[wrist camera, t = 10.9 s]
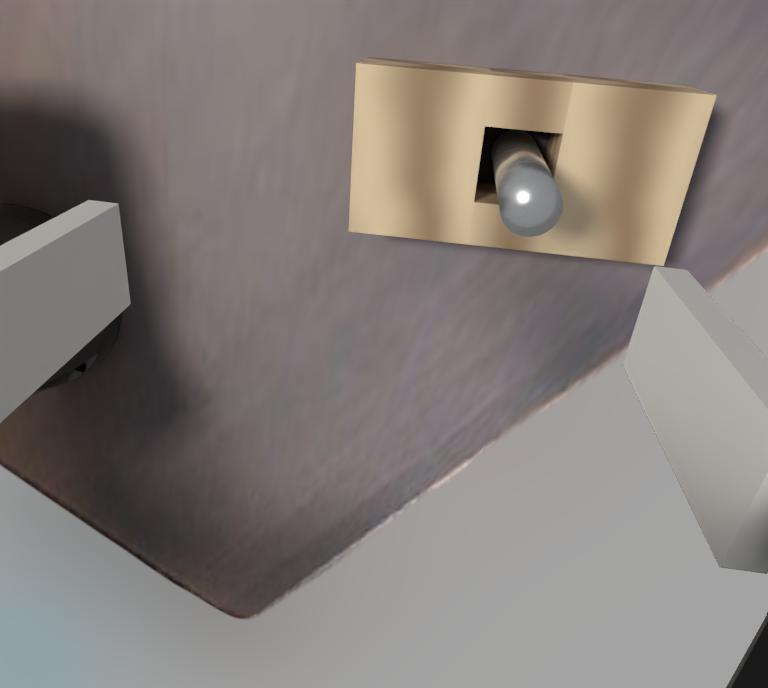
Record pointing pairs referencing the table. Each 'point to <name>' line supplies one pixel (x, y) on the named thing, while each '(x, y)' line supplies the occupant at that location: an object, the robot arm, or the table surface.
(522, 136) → the peg
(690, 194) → the table surface
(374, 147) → the hole block
